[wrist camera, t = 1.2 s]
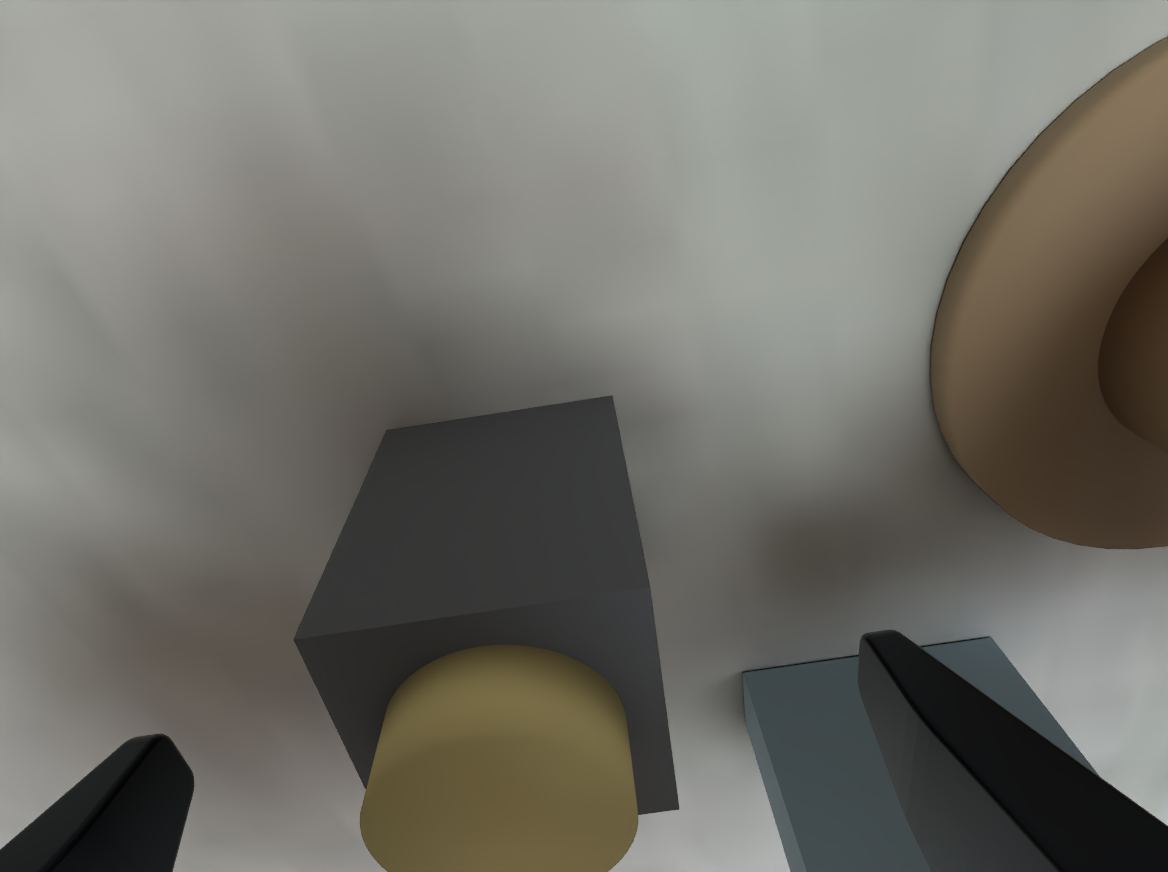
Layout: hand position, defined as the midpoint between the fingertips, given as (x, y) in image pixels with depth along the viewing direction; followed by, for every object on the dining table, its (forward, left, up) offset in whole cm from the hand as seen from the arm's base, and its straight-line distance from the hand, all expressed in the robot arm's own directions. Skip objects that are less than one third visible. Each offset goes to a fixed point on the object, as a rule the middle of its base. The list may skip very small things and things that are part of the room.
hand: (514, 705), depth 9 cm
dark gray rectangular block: (0, 0, -5) cm, 5 cm away
